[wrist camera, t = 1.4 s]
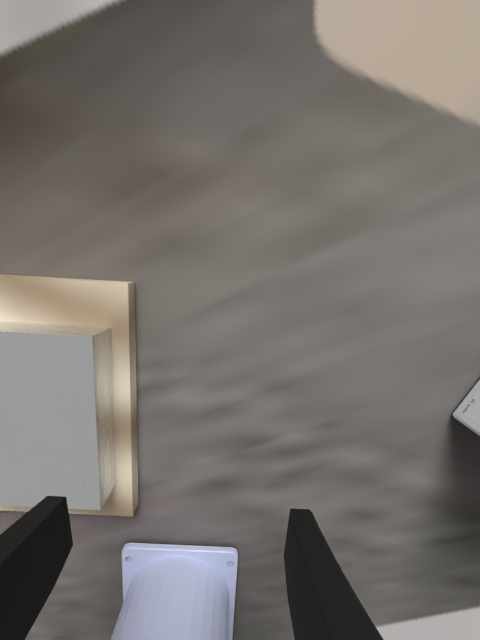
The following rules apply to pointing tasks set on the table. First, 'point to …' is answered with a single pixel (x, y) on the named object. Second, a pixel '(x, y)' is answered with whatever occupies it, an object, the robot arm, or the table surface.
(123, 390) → the board
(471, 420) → the light bulb box
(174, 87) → the table surface
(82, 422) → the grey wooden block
